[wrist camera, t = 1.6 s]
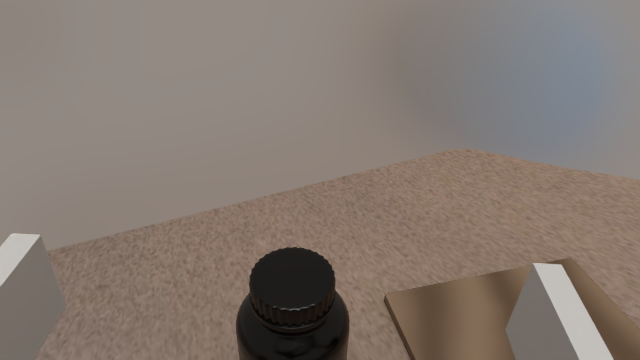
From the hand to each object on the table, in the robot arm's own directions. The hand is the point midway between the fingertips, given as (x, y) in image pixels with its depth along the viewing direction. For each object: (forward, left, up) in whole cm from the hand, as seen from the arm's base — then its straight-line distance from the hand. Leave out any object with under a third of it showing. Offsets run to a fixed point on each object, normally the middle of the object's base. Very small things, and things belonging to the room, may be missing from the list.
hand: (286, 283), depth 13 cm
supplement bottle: (-2, -9, -22) cm, 24 cm away
